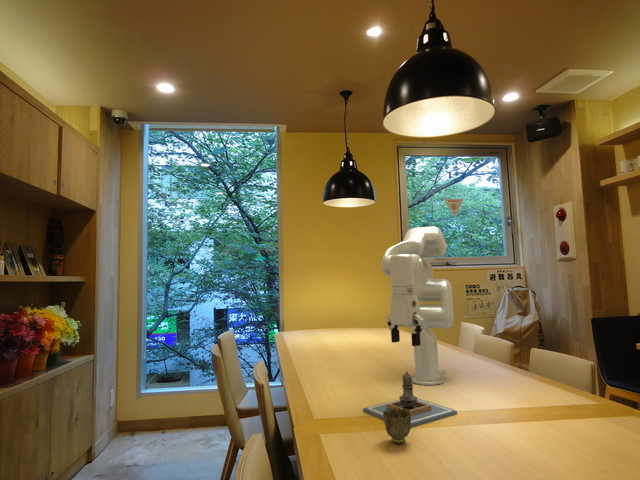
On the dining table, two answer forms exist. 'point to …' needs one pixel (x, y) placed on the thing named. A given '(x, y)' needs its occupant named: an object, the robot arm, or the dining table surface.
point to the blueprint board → (414, 411)
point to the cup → (397, 424)
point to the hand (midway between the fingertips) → (405, 343)
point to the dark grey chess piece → (408, 393)
